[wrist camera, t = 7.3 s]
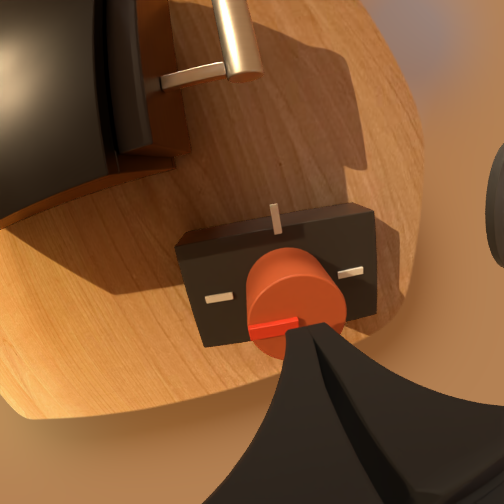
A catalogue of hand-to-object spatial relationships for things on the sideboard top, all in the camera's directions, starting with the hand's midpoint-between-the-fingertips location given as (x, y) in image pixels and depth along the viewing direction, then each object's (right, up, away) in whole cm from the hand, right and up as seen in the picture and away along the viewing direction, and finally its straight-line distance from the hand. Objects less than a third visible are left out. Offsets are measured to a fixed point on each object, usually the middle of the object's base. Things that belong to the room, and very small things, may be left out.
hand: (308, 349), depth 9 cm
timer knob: (0, +2, +5) cm, 5 cm away
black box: (-15, +12, +4) cm, 20 cm away
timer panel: (0, +3, +8) cm, 8 cm away
